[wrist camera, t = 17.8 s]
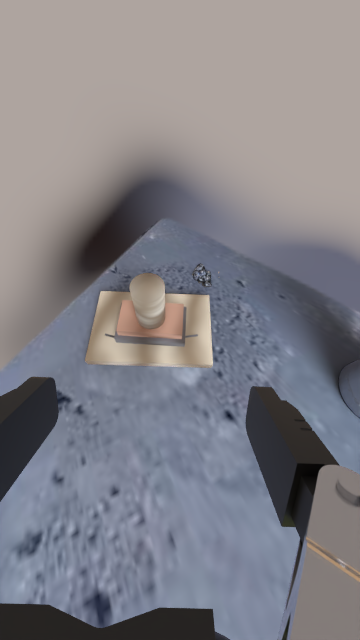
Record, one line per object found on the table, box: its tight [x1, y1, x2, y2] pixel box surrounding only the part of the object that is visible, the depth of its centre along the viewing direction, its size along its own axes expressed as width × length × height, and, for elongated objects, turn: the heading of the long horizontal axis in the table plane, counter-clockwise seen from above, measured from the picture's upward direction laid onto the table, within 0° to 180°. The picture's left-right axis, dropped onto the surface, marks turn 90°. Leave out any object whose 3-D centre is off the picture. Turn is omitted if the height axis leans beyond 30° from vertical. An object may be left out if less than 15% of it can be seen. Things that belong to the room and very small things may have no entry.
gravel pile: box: [192, 264, 220, 287], centre depth 42 cm, size 7×8×2 cm
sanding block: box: [114, 273, 187, 347], centre depth 31 cm, size 10×6×10 cm, turn 87°
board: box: [85, 291, 213, 368], centre depth 36 cm, size 18×12×2 cm, turn 89°
